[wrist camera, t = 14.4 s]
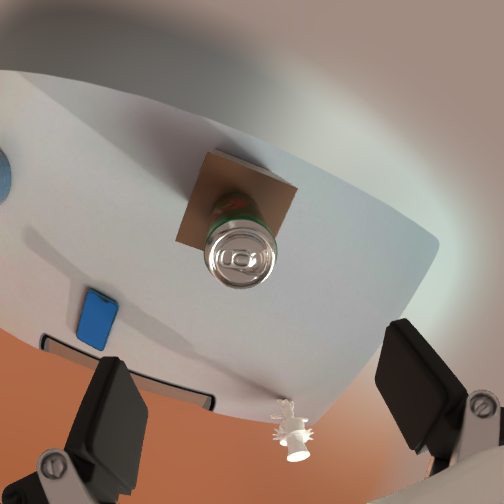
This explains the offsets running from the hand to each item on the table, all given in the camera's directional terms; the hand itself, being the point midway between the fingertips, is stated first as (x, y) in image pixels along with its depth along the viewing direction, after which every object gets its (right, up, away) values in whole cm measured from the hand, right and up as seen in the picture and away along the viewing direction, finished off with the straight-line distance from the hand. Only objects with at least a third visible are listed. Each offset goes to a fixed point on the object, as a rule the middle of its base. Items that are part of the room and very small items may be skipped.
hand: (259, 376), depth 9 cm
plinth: (-4, +15, +37) cm, 40 cm away
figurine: (+8, -33, +58) cm, 67 cm away
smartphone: (-33, -10, +44) cm, 56 cm away
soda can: (-2, +8, +21) cm, 22 cm away
